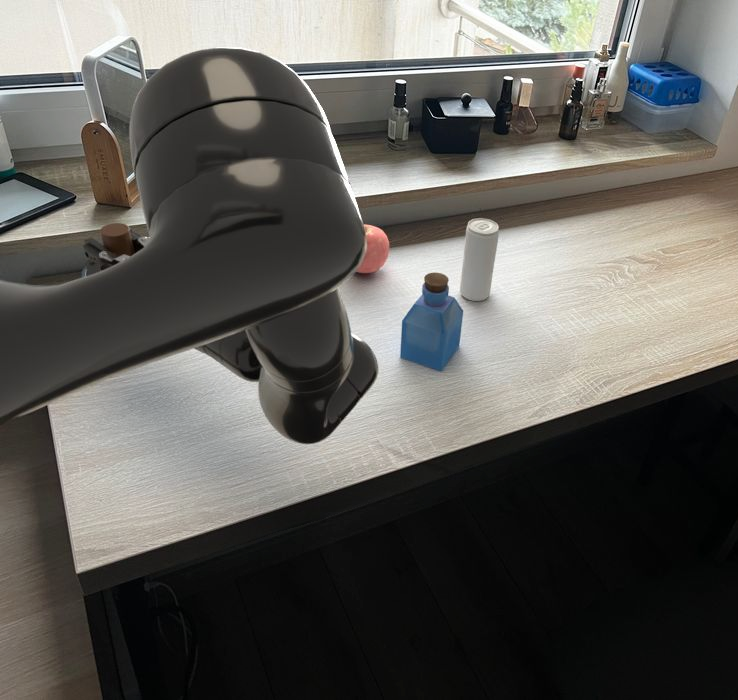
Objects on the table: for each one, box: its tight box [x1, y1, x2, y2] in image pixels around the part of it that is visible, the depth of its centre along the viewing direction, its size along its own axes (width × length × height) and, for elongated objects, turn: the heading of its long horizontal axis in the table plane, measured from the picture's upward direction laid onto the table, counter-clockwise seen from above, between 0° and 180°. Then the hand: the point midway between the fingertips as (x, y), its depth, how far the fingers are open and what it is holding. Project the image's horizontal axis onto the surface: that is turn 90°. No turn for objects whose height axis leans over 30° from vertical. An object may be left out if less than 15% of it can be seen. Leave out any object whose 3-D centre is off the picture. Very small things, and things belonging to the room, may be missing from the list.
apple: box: [355, 224, 390, 274], centre depth 112 cm, size 7×7×8 cm
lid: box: [99, 222, 135, 257], centre depth 78 cm, size 10×10×9 cm
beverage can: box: [459, 217, 500, 302], centre depth 109 cm, size 5×5×12 cm
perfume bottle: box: [399, 272, 464, 372], centre depth 97 cm, size 6×6×12 cm
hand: (104, 240), depth 78 cm, fingers closed on lid, 3 cm apart
